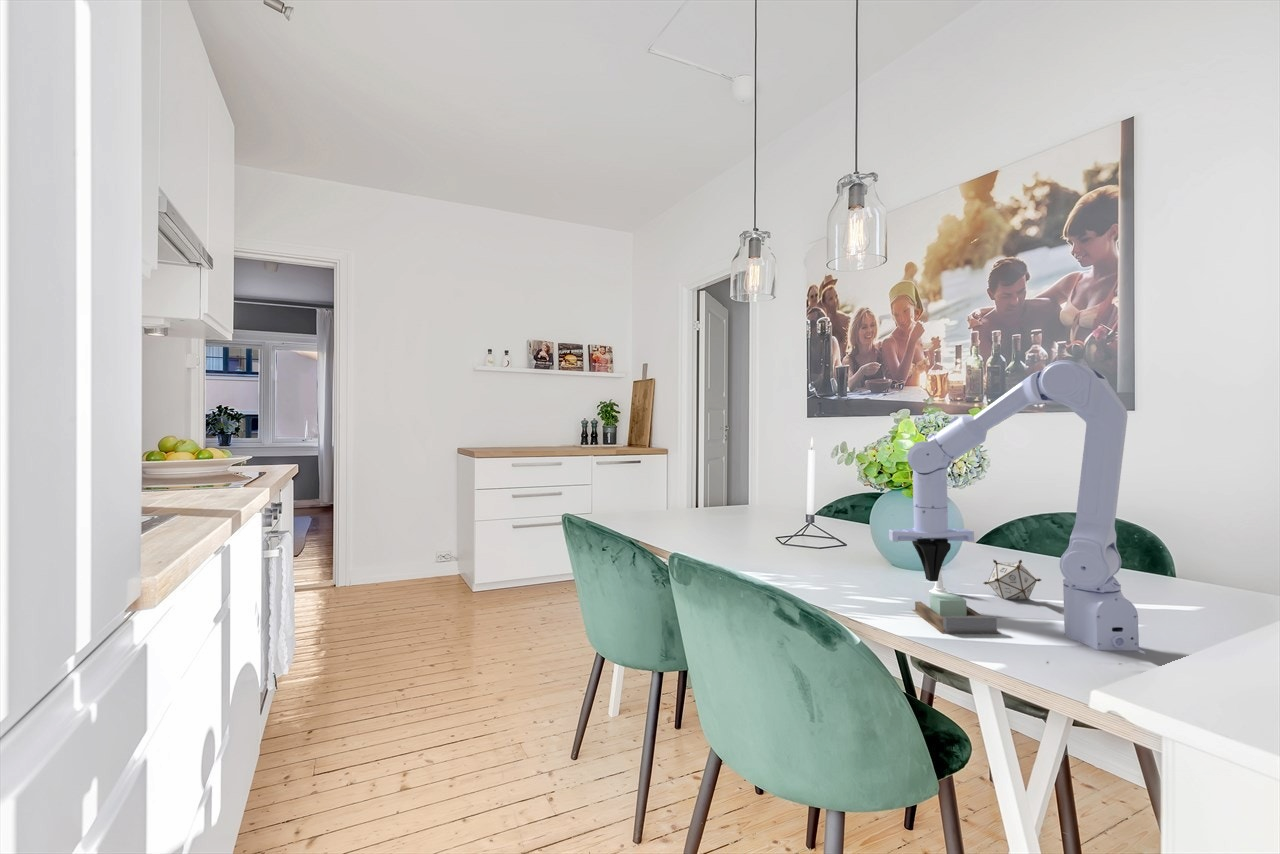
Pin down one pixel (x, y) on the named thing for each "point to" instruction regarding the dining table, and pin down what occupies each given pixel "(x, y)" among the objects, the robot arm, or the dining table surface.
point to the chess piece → (939, 585)
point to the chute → (958, 621)
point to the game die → (1011, 581)
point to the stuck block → (948, 604)
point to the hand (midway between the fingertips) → (931, 580)
